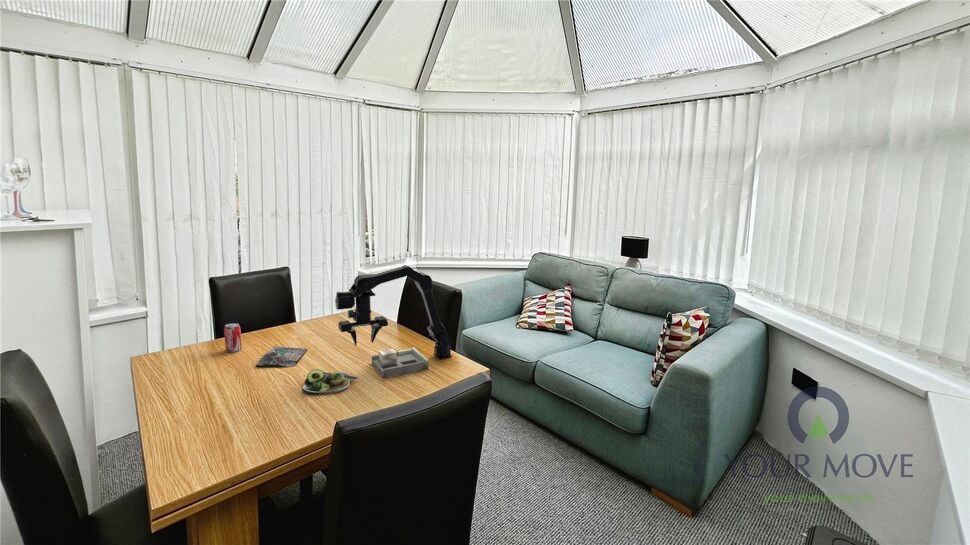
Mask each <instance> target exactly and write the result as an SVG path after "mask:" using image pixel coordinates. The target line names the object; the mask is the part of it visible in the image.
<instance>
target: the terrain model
mask: <svg viewBox="0 0 970 545" xmlns="http://www.w3.org/2000/svg"><path fill="white" fill-rule="evenodd" d="M307 352H308V348H301V347H288V346H287V347H286V346H275V345H274V346H272V348H271V349H270V350H269V351H268V352H267V353H265V354H264V355H263V356H262V357H261V358H260V360H258V362H257V363H256V365H255V368H256V367H260V368H294V367H296V366H297V365H298V363H299V362H300V361H301V359H302V358H303V357H304V356H305V354H306V353H307ZM299 360H300V361H299Z"/></svg>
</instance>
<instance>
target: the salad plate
mask: <svg viewBox="0 0 970 545" xmlns="http://www.w3.org/2000/svg"><path fill="white" fill-rule="evenodd" d="M306 375H307V376H306V378H305V380H304V382H303V386H302V391H303V392H304V393H305V394H307V395H313V396H314V395H316V396H317V395H327V394H334V393H340V392H342V391H344V390H347V389H348V388H349V387H350V384H351V381H353V380H357V379H358V378H359V377H358V376H354V375H353V376H352V375H350V374H348V373H346V372H344V371H338V372H325V371H323V370H322V369H320V368H317V369H312V370H310V371H309V372H308V373H307V374H306ZM339 386H340V388H337V389H334V390H329V389H330V388H332V387H333V388H334V387H339Z"/></svg>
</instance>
